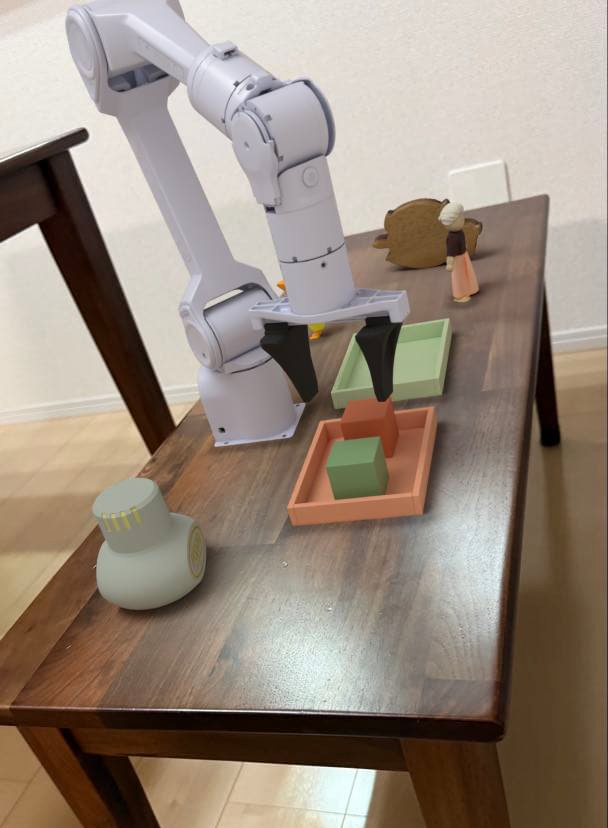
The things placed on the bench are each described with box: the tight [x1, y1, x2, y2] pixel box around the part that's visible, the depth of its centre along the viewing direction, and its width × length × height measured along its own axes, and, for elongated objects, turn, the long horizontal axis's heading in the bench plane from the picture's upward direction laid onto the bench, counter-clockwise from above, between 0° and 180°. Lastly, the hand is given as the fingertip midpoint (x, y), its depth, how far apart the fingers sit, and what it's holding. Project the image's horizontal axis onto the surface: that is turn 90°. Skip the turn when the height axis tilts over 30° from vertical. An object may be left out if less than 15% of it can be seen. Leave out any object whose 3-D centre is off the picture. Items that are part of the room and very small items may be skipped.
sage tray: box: [330, 317, 453, 410], centre depth 99 cm, size 12×16×3 cm
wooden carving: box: [371, 197, 484, 269], centre depth 125 cm, size 16×5×10 cm, turn 77°
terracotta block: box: [340, 396, 399, 458], centre depth 85 cm, size 4×4×4 cm
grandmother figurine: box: [438, 202, 480, 303], centre depth 110 cm, size 8×4×13 cm, turn 168°
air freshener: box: [91, 477, 207, 611], centre depth 74 cm, size 11×8×10 cm
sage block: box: [326, 436, 389, 500], centre depth 78 cm, size 4×4×4 cm
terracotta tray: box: [286, 405, 438, 527], centre depth 82 cm, size 12×16×3 cm
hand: (347, 396), depth 77 cm, fingers open, 7 cm apart
